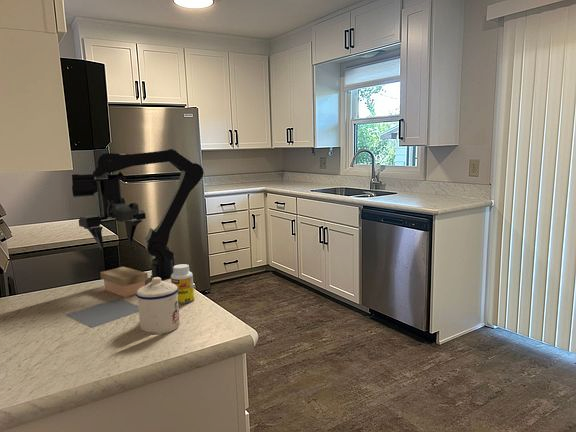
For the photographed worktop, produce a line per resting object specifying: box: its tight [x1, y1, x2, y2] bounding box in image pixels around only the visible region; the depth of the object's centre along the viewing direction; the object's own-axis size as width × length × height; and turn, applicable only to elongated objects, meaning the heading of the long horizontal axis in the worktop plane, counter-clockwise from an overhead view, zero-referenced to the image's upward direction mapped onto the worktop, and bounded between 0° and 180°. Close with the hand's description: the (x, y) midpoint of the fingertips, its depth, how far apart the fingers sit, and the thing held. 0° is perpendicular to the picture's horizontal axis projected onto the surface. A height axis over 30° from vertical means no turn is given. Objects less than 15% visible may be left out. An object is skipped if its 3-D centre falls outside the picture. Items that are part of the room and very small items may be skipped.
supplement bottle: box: [170, 263, 195, 306], centre depth 110 cm, size 6×6×10 cm
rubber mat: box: [64, 298, 139, 329], centre depth 105 cm, size 14×14×1 cm
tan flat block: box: [99, 266, 149, 287], centre depth 121 cm, size 7×13×2 cm, turn 51°
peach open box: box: [103, 280, 146, 298], centre depth 121 cm, size 6×11×4 cm, turn 51°
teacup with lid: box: [135, 277, 181, 336], centre depth 96 cm, size 12×9×12 cm
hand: (116, 245), depth 129 cm, fingers open, 9 cm apart
